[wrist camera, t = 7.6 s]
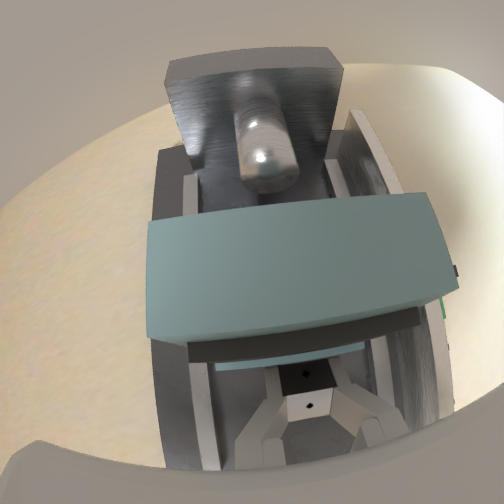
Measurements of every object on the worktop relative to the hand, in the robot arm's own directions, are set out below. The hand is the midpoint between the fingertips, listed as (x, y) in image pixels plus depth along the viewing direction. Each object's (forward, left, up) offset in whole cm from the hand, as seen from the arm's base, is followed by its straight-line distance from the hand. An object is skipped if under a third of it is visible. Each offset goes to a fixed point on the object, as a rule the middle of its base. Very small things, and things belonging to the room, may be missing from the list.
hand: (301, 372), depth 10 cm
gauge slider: (+1, +4, -4) cm, 5 cm away
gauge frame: (-2, +5, -6) cm, 8 cm away
